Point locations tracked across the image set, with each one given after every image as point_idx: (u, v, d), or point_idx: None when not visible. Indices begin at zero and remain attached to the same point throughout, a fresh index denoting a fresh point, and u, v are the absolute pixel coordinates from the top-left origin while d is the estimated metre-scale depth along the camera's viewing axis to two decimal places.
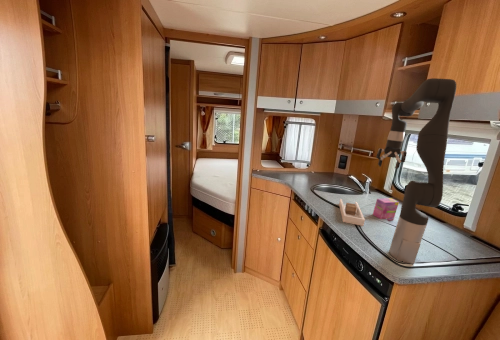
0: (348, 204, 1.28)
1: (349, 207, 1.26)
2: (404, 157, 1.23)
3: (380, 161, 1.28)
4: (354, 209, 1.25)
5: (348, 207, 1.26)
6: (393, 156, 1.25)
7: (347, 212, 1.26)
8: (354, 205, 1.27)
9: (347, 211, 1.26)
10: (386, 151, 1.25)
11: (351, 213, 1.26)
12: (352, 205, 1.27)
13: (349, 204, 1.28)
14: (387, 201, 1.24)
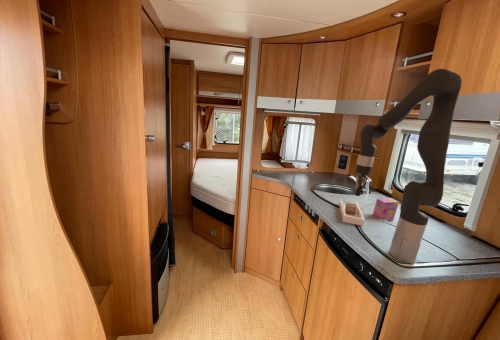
0: (348, 204, 1.28)
1: (349, 207, 1.26)
2: None
3: (360, 191, 1.16)
4: (354, 209, 1.25)
5: (348, 207, 1.26)
6: None
7: (347, 212, 1.26)
8: (354, 205, 1.27)
9: (347, 211, 1.26)
10: None
11: (351, 213, 1.26)
12: (352, 205, 1.27)
13: (349, 204, 1.28)
14: (387, 201, 1.24)
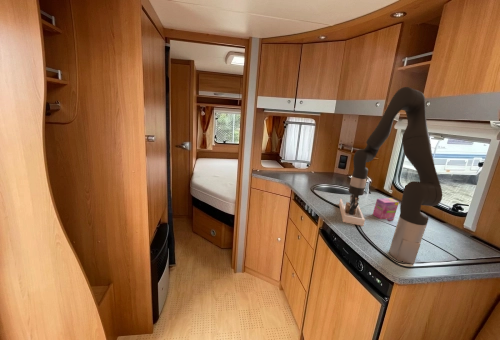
0: (348, 203, 1.28)
1: (349, 206, 1.26)
2: None
3: (353, 210, 1.23)
4: None
5: (348, 206, 1.27)
6: None
7: (347, 211, 1.27)
8: None
9: (347, 210, 1.27)
10: None
11: None
12: None
13: None
14: (387, 201, 1.24)
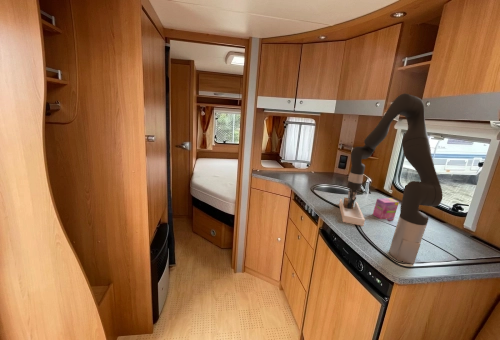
0: (346, 199, 1.36)
1: (347, 201, 1.34)
2: None
3: (351, 204, 1.30)
4: (352, 203, 1.33)
5: (346, 201, 1.34)
6: None
7: (345, 206, 1.35)
8: None
9: (345, 205, 1.35)
10: None
11: None
12: None
13: (347, 198, 1.36)
14: (387, 201, 1.24)
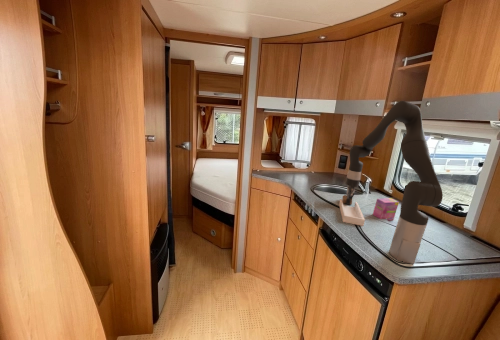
0: None
1: (346, 196, 1.41)
2: None
3: (350, 200, 1.38)
4: None
5: (345, 196, 1.42)
6: None
7: (345, 201, 1.41)
8: None
9: (344, 200, 1.41)
10: (353, 192, 1.34)
11: None
12: None
13: None
14: (387, 201, 1.24)
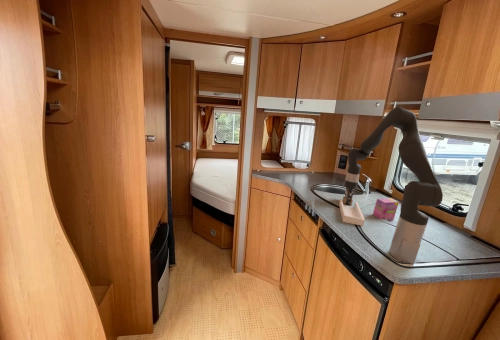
0: (345, 198, 1.42)
1: None
2: None
3: (349, 202, 1.39)
4: (350, 202, 1.39)
5: (345, 200, 1.40)
6: None
7: None
8: None
9: None
10: (351, 193, 1.38)
11: None
12: (348, 198, 1.41)
13: (346, 197, 1.42)
14: (387, 201, 1.24)
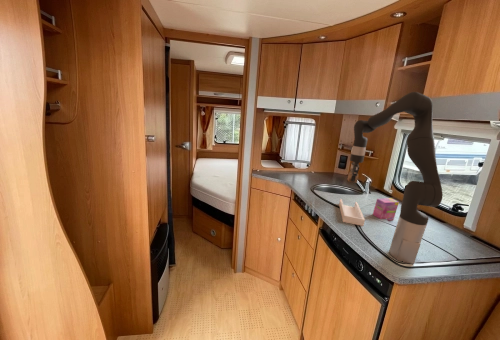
0: (350, 173, 1.38)
1: (351, 175, 1.36)
2: None
3: (355, 177, 1.35)
4: (356, 177, 1.35)
5: (350, 175, 1.36)
6: None
7: (350, 179, 1.37)
8: None
9: (349, 179, 1.37)
10: (357, 167, 1.33)
11: None
12: (354, 173, 1.37)
13: (351, 173, 1.38)
14: (387, 201, 1.24)
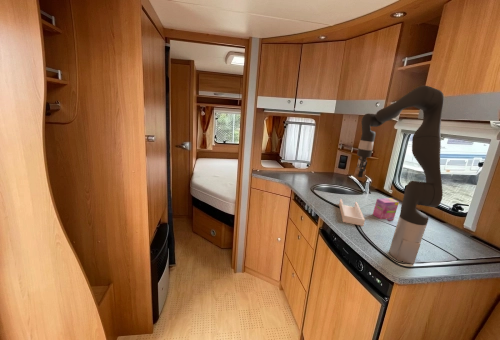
0: (358, 168, 1.34)
1: None
2: None
3: (362, 172, 1.31)
4: (363, 172, 1.31)
5: (358, 170, 1.32)
6: None
7: (357, 175, 1.33)
8: None
9: (357, 174, 1.33)
10: None
11: None
12: None
13: (358, 168, 1.34)
14: (387, 201, 1.24)
